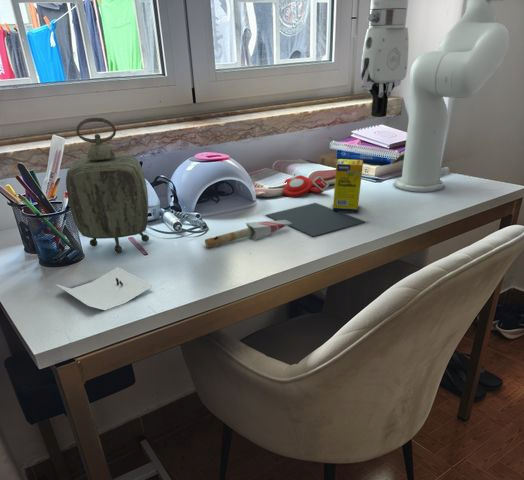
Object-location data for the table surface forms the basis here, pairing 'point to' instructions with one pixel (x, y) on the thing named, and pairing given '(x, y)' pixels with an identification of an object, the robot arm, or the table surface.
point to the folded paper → (109, 289)
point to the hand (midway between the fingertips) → (378, 116)
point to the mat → (316, 219)
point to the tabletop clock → (107, 192)
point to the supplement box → (347, 185)
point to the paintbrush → (248, 232)
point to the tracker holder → (303, 186)
